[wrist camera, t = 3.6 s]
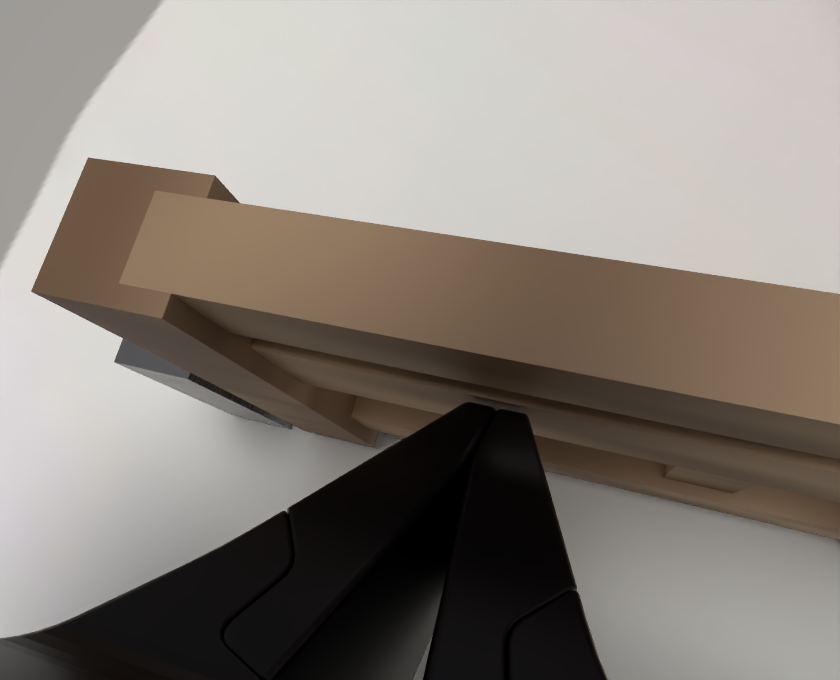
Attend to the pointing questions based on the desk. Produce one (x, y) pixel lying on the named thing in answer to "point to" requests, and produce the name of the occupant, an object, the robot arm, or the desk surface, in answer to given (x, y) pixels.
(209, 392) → the dark grey square post
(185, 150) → the desk surface
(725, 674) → the desk surface
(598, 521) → the desk surface
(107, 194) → the walnut gate
